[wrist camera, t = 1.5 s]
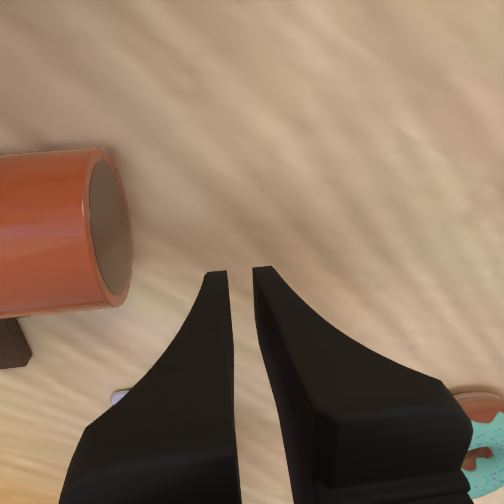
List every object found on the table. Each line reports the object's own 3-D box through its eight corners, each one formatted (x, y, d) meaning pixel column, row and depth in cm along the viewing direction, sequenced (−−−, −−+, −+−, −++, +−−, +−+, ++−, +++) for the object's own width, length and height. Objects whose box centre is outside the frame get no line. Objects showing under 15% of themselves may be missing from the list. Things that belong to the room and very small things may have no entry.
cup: (1, 268, 21) (-76, 363, 15) (-56, 141, 18) (-186, 200, 12) (138, 255, 22) (116, 341, 16) (111, 130, 18) (68, 180, 12)
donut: (539, 386, 33) (579, 428, 29) (470, 469, 38) (497, 512, 35) (416, 375, 30) (444, 420, 27) (361, 466, 36) (378, 513, 32)
